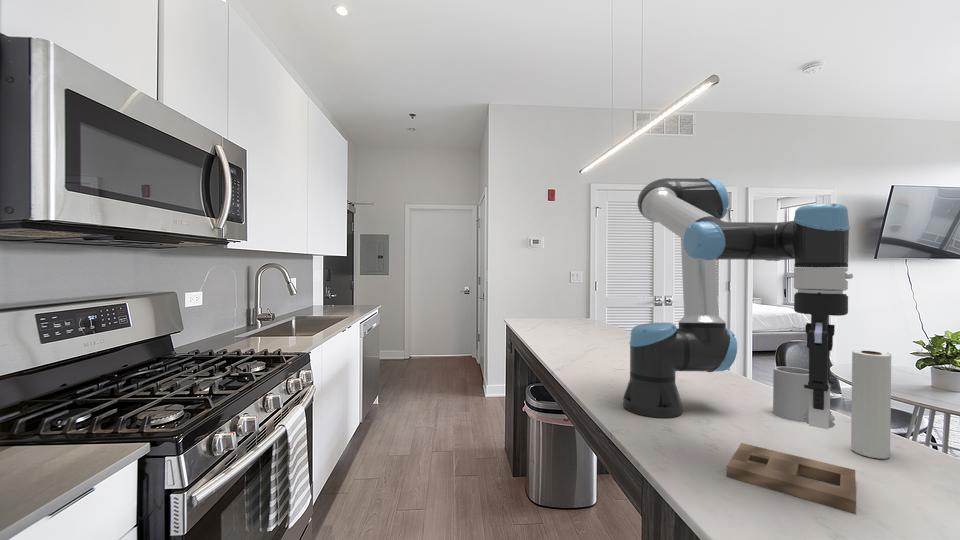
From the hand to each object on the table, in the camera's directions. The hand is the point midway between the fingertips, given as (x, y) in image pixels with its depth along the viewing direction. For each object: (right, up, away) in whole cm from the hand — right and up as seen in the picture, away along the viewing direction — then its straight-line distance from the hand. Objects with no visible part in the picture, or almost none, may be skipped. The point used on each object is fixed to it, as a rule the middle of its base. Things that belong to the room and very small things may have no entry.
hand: (819, 422), depth 76 cm
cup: (+23, -12, +37) cm, 45 cm away
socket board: (-3, -11, +3) cm, 12 cm away
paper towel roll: (+22, -12, +14) cm, 29 cm away
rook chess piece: (0, 0, 0) cm, 0 cm away
